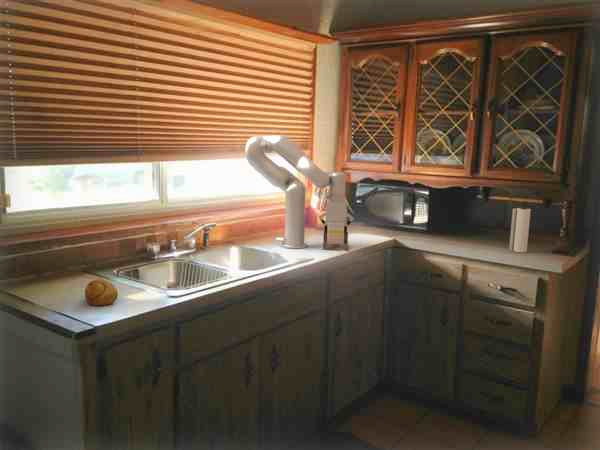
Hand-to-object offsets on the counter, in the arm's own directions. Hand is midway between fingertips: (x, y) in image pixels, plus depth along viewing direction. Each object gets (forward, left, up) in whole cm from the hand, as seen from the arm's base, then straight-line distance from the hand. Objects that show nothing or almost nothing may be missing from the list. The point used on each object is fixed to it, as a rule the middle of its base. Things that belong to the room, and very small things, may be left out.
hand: (335, 233), depth 262 cm
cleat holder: (0, -1, -7) cm, 7 cm away
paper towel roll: (+90, +7, -7) cm, 91 cm away
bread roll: (-74, -97, -7) cm, 122 cm away
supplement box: (0, 0, -5) cm, 5 cm away
